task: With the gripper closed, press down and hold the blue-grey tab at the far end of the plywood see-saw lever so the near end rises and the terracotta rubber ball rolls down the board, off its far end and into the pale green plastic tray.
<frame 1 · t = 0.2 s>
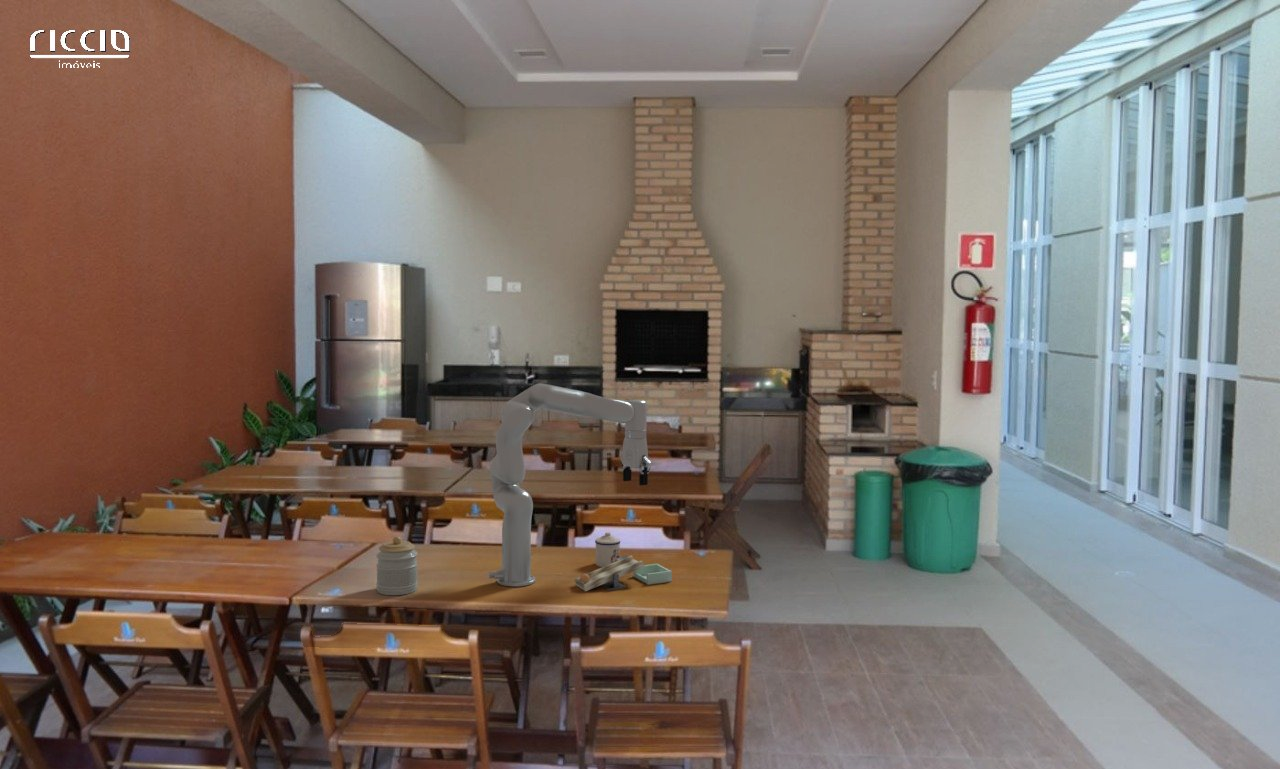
hand: (635, 482, 333), 30 cm above the table, fingers open, 9 cm apart
lever: (606, 570, 315), point 4 cm above the table, hinge at -15.0°, touching ball
jar: (397, 590, 304), on the table
ball: (584, 578, 309), point 3 cm above the table, tilted 13°, touching lever
tray: (652, 579, 321), on the table
teacup with lid: (608, 564, 340), on the table
fulcrum: (609, 584, 313), on the table
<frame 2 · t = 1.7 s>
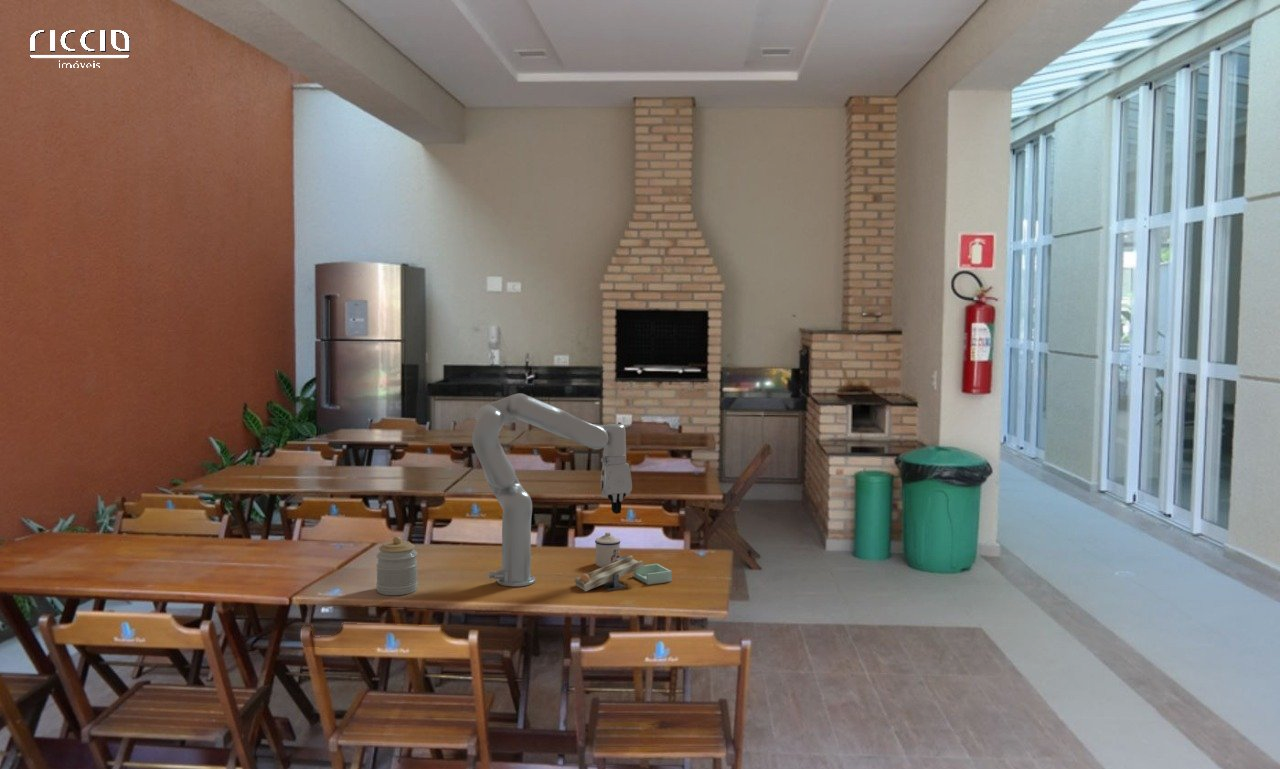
hand: (616, 512, 324), 22 cm above the table, fingers closed
nothing on the table moved.
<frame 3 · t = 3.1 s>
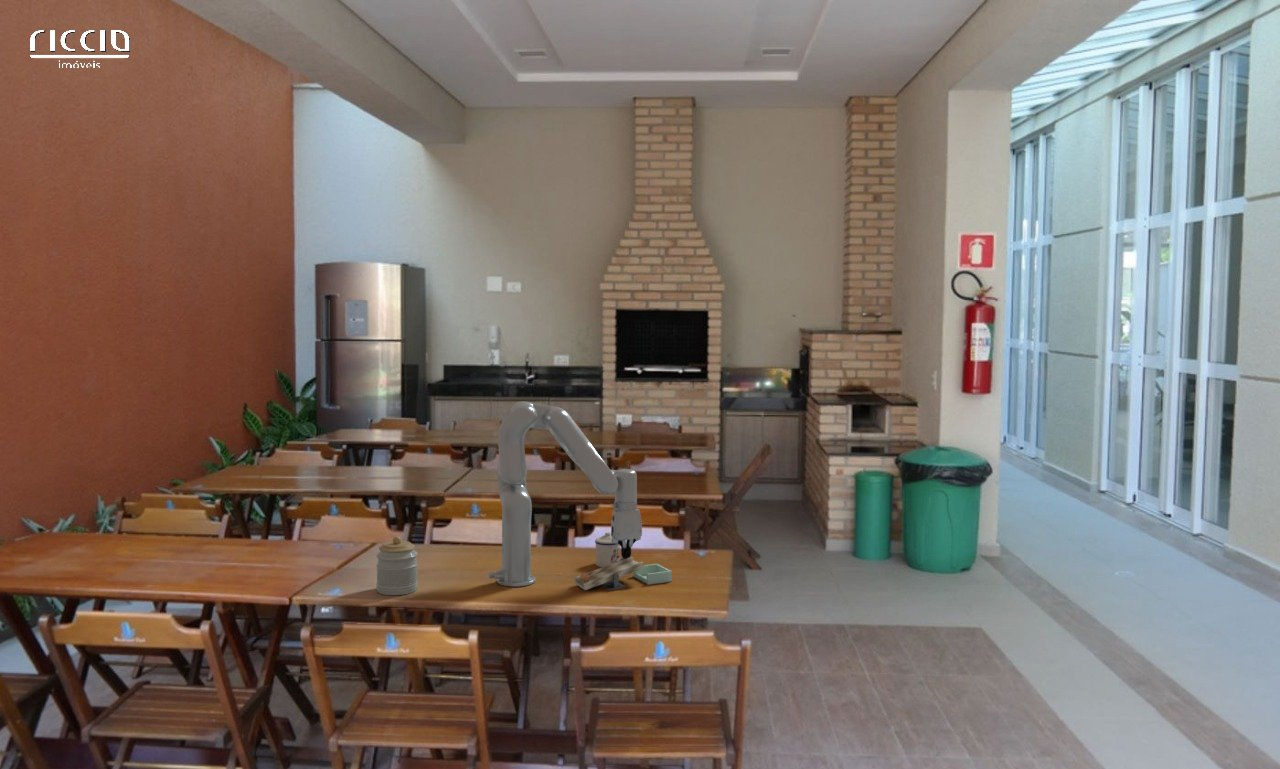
hand: (626, 558, 323), 6 cm above the table, fingers closed
lever: (606, 570, 315), point 4 cm above the table, hinge at -12.7°, touching ball, gripper
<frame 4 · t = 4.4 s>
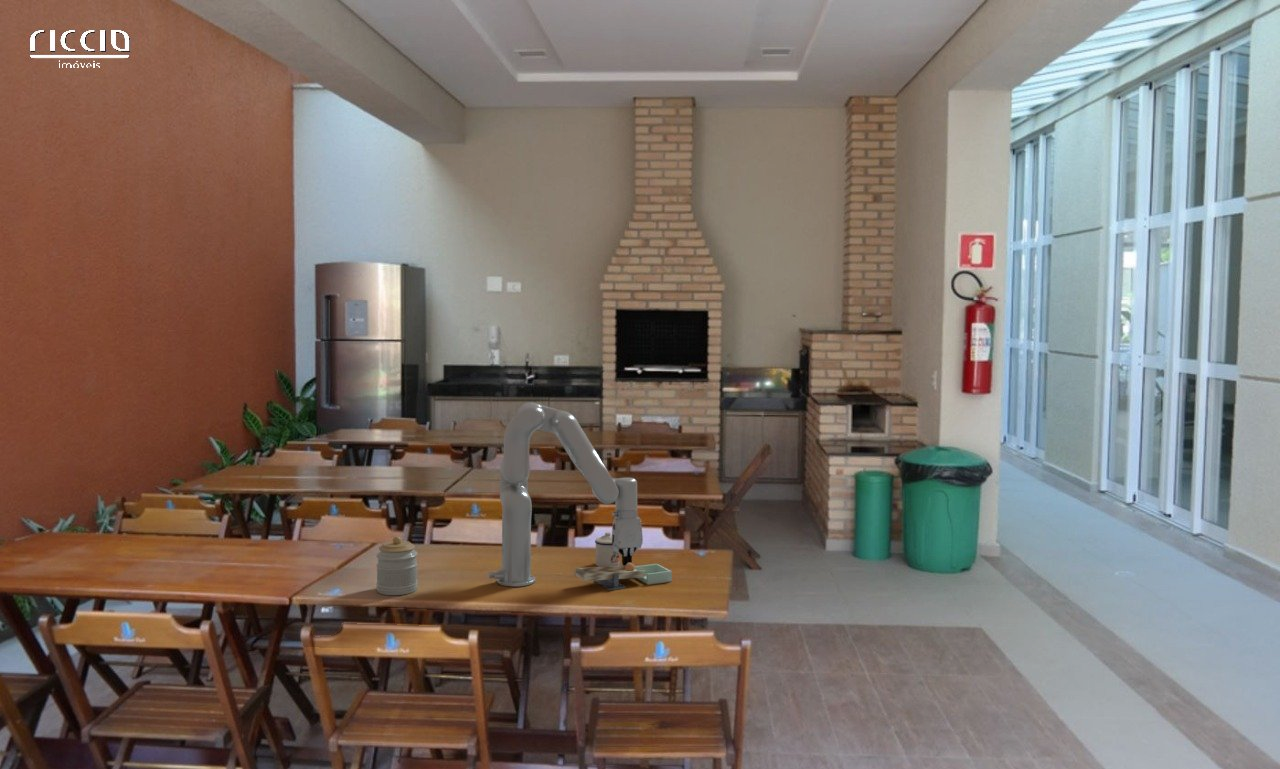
hand: (627, 566, 324), 3 cm above the table, fingers closed
lever: (606, 570, 315), point 4 cm above the table, hinge at 3.7°, touching ball, gripper
ball: (629, 567, 316), point 5 cm above the table, tilted 136°, touching lever
everything else where it was.
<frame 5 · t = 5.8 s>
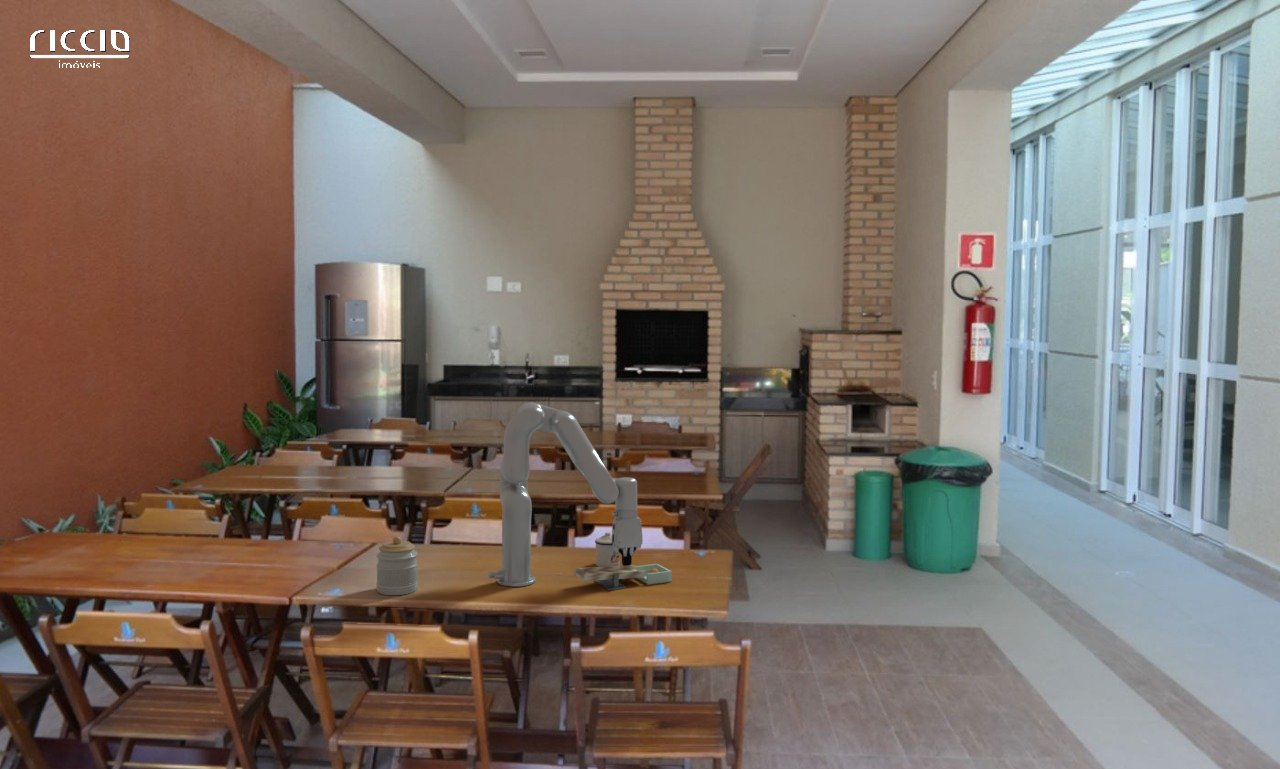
hand: (626, 566, 324), 3 cm above the table, fingers closed
lever: (606, 570, 315), point 4 cm above the table, hinge at 3.8°, touching gripper
ball: (654, 573, 321), point 2 cm above the table, tilted 130°, touching tray
everything else where it was.
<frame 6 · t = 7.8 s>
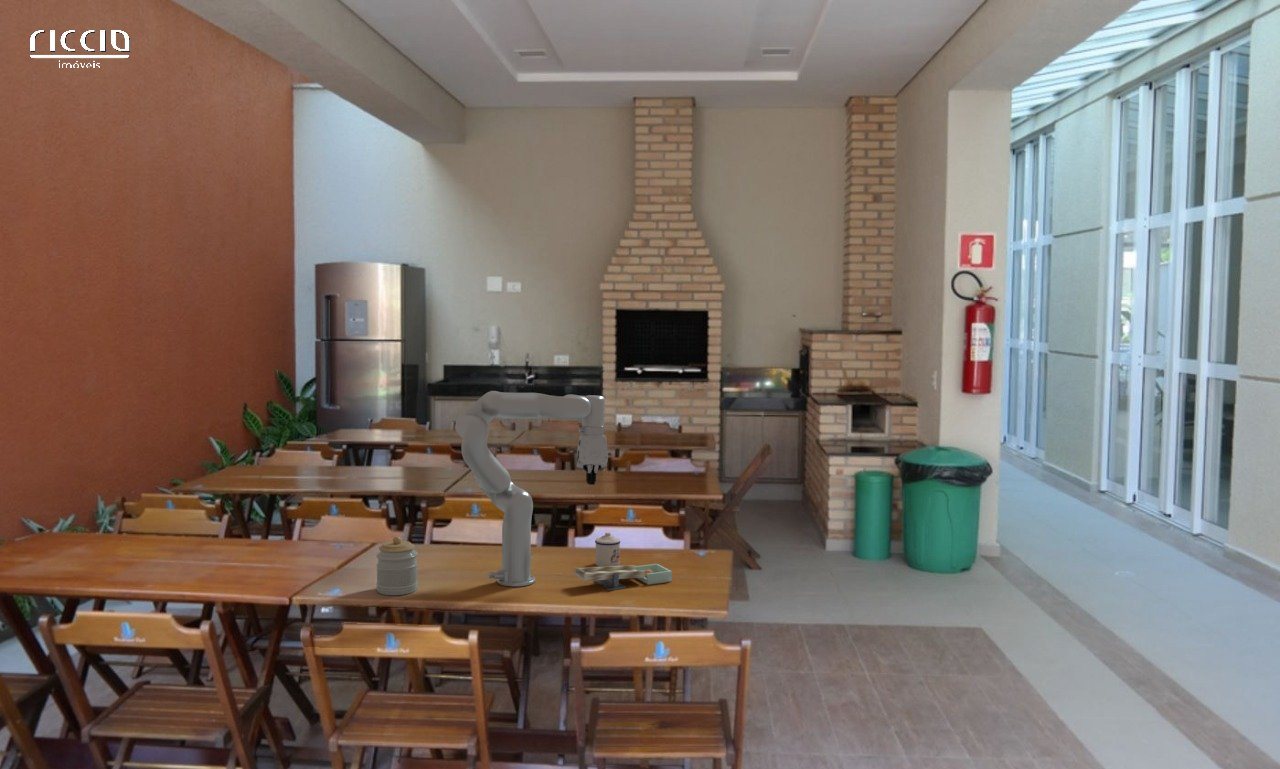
hand: (590, 483, 325), 31 cm above the table, fingers closed
lever: (606, 570, 315), point 4 cm above the table, hinge at 3.8°
ball: (648, 574, 320), point 2 cm above the table, tilted 147°, touching tray
everything else where it was.
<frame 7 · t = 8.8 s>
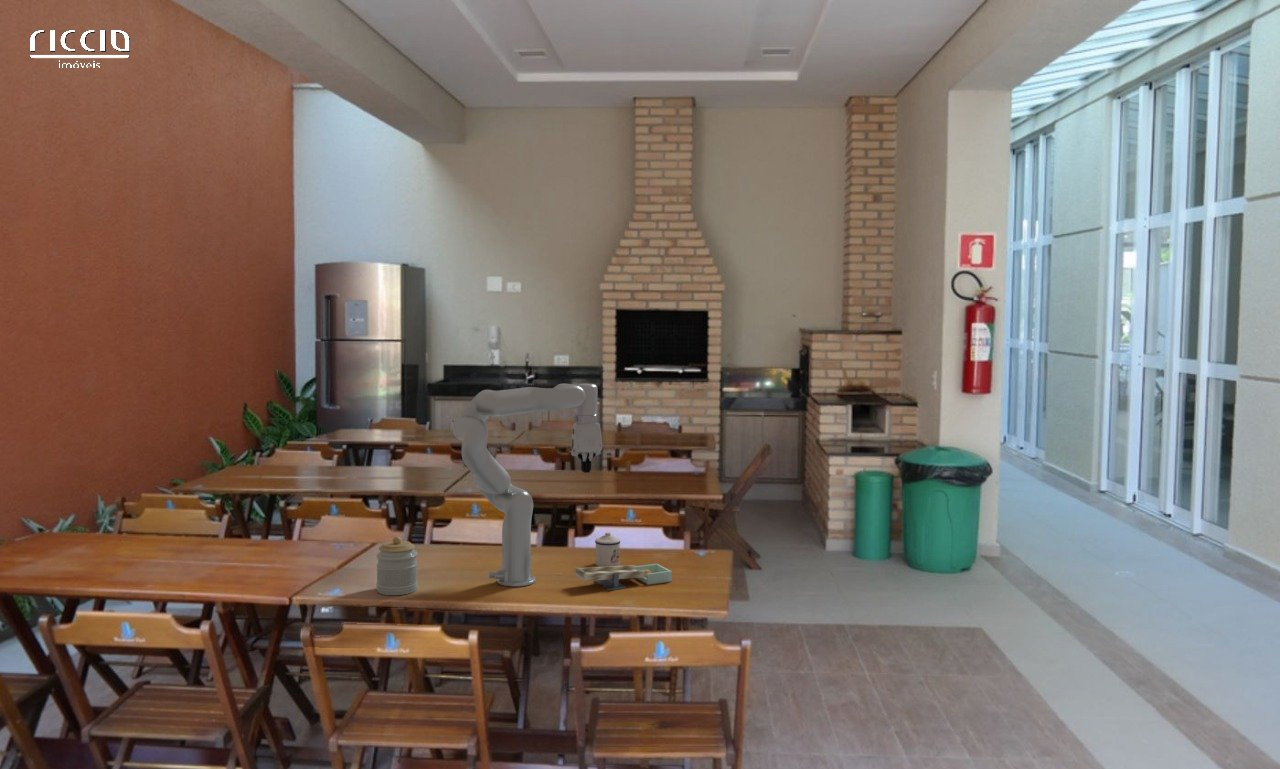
hand: (585, 472, 326), 35 cm above the table, fingers closed
ball: (646, 574, 319), point 2 cm above the table, tilted 121°, touching tray
everything else where it was.
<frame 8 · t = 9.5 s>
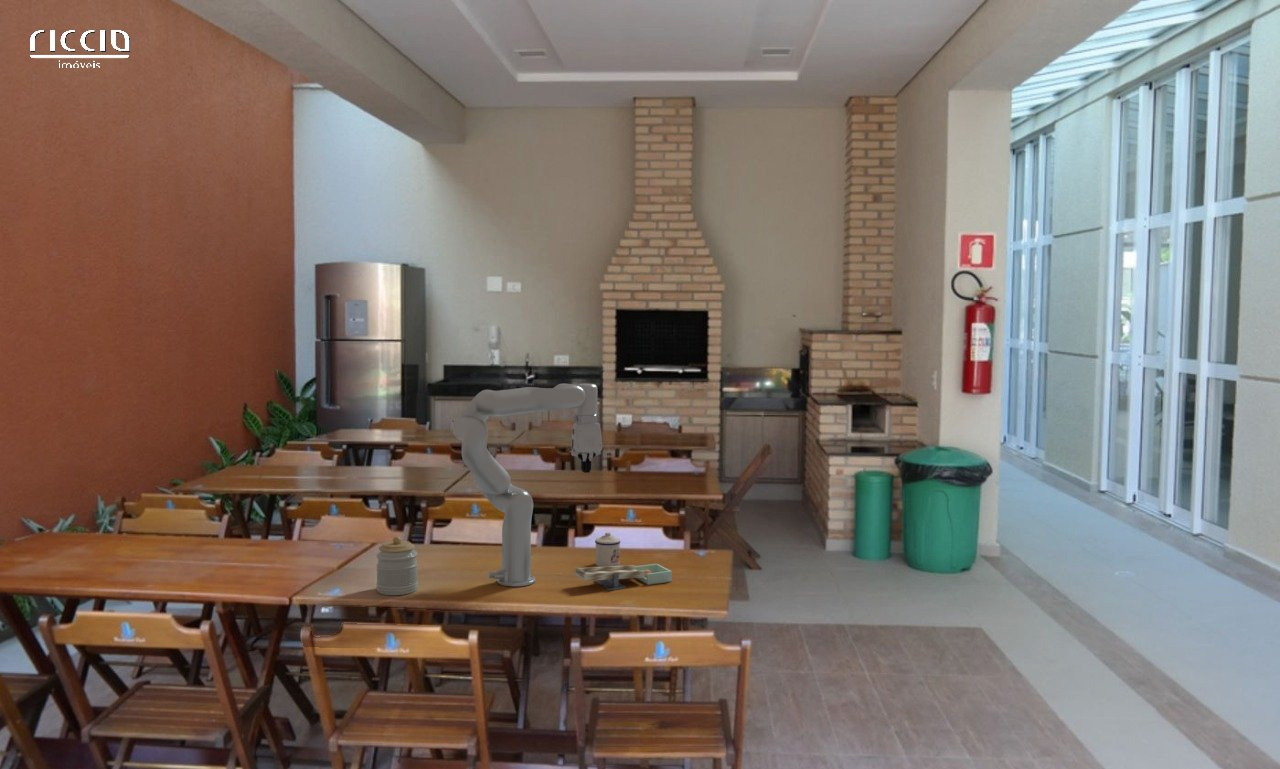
hand: (585, 472, 326), 35 cm above the table, fingers closed
nothing on the table moved.
at the end: ball inside the target area (2.4 cm from its centre), point 1.9 cm above the table; ball point 1.9 cm above the table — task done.
